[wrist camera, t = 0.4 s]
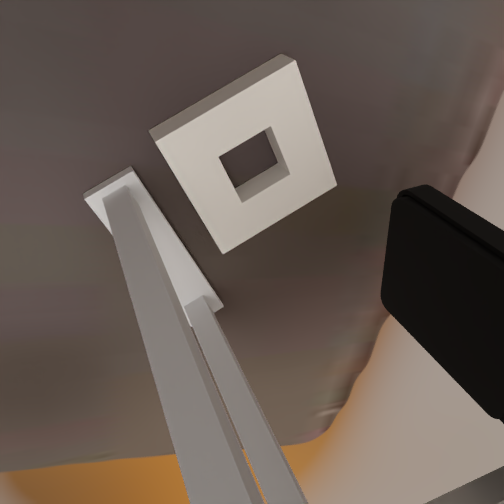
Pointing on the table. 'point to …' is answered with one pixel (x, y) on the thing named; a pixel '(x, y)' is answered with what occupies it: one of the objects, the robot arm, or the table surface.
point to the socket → (236, 132)
